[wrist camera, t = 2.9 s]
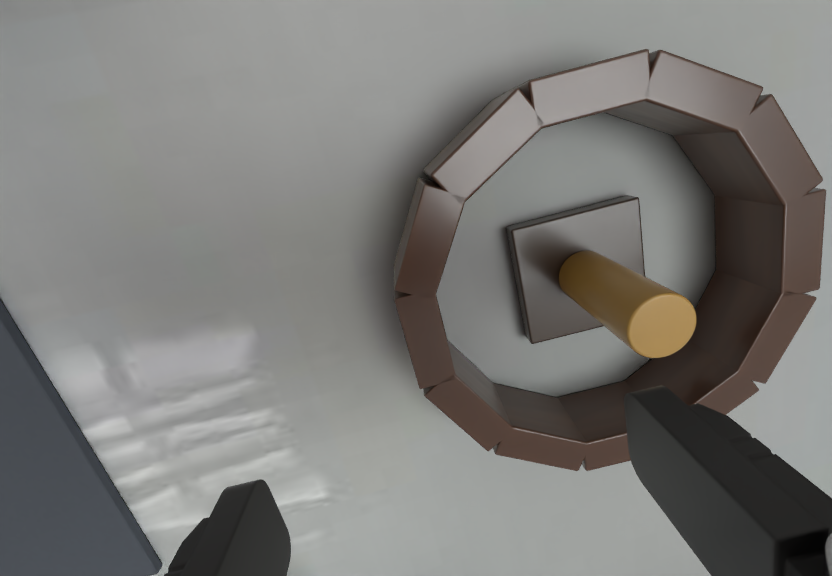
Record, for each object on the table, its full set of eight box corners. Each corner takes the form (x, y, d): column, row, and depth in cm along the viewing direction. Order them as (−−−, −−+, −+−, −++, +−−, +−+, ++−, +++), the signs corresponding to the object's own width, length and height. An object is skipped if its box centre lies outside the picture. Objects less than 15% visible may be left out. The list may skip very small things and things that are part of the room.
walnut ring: (354, 133, 15) (345, 128, 12) (749, 27, 15) (840, -3, 12) (443, 450, 20) (452, 504, 17) (747, 376, 20) (812, 417, 17)
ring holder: (505, 226, 17) (564, 265, 11) (628, 194, 17) (751, 218, 11) (525, 337, 18) (585, 421, 13) (638, 308, 18) (750, 380, 13)
